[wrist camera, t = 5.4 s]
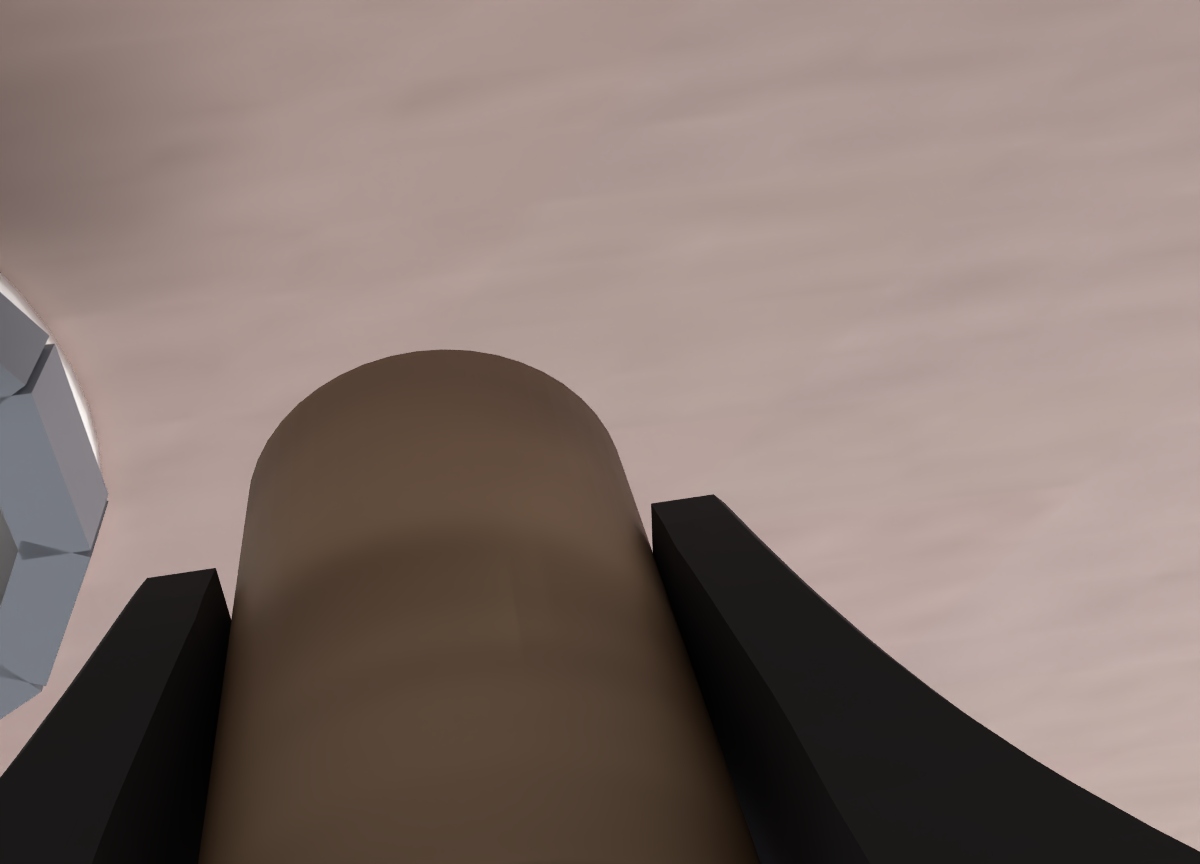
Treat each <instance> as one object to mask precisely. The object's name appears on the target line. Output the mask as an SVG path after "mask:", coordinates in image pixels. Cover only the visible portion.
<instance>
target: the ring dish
mask: <svg viewBox="0 0 1200 864" xmlns="http://www.w3.org/2000/svg"><path fill="white" fill-rule="evenodd" d="M107 497H108V491H107V489H106V486H105V483H104V480H103V477H102V469H101V459H100V449H99V441H98V438H97V434H96V430H95V426H94V423H93V419H92V415H91V411H90V408H89V405H88V402H87V400H86V398H85V395H84V393H83V391H82V388H81V386H80V384H79V381H78V379H77V377H76V374H75V372H74V370H73V368H72V366H71V364H70V363H69V361H68V359H67V358H66V356H65V354H64V353H63V351H62V349H61V348H60V346H59V344H58V343H57V341H56V339H55V338H54V336H53V334H52V333H51V331H50V330H49V328H48V327H47V326H46V324H45V323H44V322H43V320H42V319H41V318H40V317H39V315H38V314H37V313H36V312H35V310H34V309H33V308H32V307H31V305H30V304H29V303H28V302H27V300H26V299H25V298H24V297H23V295H22V294H21V293H20V291H19V290H18V289H17V288H16V287H15V286H14V285H13V284H12V283H11V282H10V281H9V280H8V279H7V278H6V277H5V276H4V275H3V274H2V273H1V272H0V719H2V718H3V717H5V716H6V715H7V714H9V713H10V712H12V711H13V710H15V709H16V708H18V707H19V706H21V705H22V704H24V703H25V702H27V701H28V700H30V699H31V698H33V697H34V696H36V695H37V694H38V693H40V692H41V691H42V688H43V686H46V684H47V682H48V679H49V676H50V673H51V670H52V667H53V664H54V661H55V659H56V656H57V653H58V650H59V647H60V644H61V641H62V639H63V636H64V633H65V630H66V627H67V624H68V621H69V619H70V616H71V613H72V610H73V607H74V604H75V601H76V598H77V596H78V593H79V590H80V587H81V584H82V581H83V578H84V576H85V573H86V570H87V567H88V564H89V561H90V558H91V555H92V552H93V549H94V546H95V542H96V539H97V536H98V533H99V530H100V526H101V523H102V520H103V517H104V514H105V510H106V507H107V504H108V501H107Z"/></svg>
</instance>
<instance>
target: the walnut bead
mask: <svg viewBox="0 0 1200 864" xmlns="http://www.w3.org/2000/svg"><path fill="white" fill-rule="evenodd" d="M198 864H761V862H760V860H759V857H758V854H757V851H756V848H755V845H754V842H753V839H752V837H751V834H750V831H749V828H748V825H747V822H746V819H745V817H744V814H743V811H742V808H741V805H740V802H739V799H738V796H737V794H736V791H735V788H734V785H733V782H732V779H731V776H730V773H729V771H728V768H727V765H726V762H725V759H724V756H723V753H722V750H721V748H720V745H719V742H718V739H717V736H716V733H715V730H714V728H713V725H712V722H711V719H710V716H709V713H708V710H707V707H706V705H705V702H704V699H703V696H702V693H701V690H700V687H699V684H698V682H697V679H696V676H695V673H694V670H693V667H692V664H691V662H690V659H689V656H688V653H687V650H686V647H685V644H684V641H683V639H682V636H681V633H680V630H679V627H678V624H677V621H676V618H675V616H674V613H673V610H672V607H671V604H670V601H669V598H668V596H667V593H666V590H665V587H664V584H663V581H662V578H661V575H660V573H659V570H658V567H657V564H656V561H655V558H654V555H653V552H652V550H651V547H650V544H649V541H648V538H647V535H646V532H645V529H644V527H643V524H642V521H641V518H640V515H639V512H638V509H637V507H636V504H635V501H634V498H633V495H632V492H631V489H630V486H629V484H628V481H627V478H626V475H625V472H624V469H623V466H622V463H621V461H620V458H619V455H618V452H617V449H616V447H615V445H614V443H613V441H612V439H611V437H610V435H609V433H608V431H607V429H606V428H605V427H604V425H603V424H602V422H601V421H600V419H599V418H598V416H597V415H596V414H595V413H594V411H593V410H592V409H591V408H590V407H589V406H588V405H587V404H586V403H585V402H584V401H583V400H582V399H581V398H580V397H579V396H578V395H576V394H575V393H574V392H573V391H571V390H570V389H569V388H568V387H566V386H565V385H564V384H562V383H561V382H559V381H557V380H556V379H554V378H552V377H551V376H549V375H547V374H546V373H544V372H542V371H540V370H537V369H535V368H533V367H531V366H528V365H526V364H524V363H521V362H518V361H515V360H511V359H508V358H504V357H501V356H498V355H493V354H487V353H481V352H475V351H464V350H430V351H416V352H411V353H406V354H400V355H395V356H390V357H386V358H383V359H380V360H377V361H374V362H370V363H367V364H364V365H362V366H360V367H357V368H355V369H353V370H351V371H348V372H346V373H344V374H342V375H340V376H338V377H336V378H335V379H333V380H331V381H330V382H328V383H326V384H325V385H323V386H321V387H320V388H318V389H317V390H315V391H314V392H313V393H312V394H310V395H309V396H308V397H307V398H305V399H304V400H303V401H302V402H300V403H299V404H298V405H297V406H296V407H295V408H294V409H293V410H292V411H291V412H290V413H289V414H288V415H287V416H286V417H285V418H284V420H283V421H282V422H281V423H280V424H279V426H278V427H277V429H276V430H275V431H274V433H273V434H272V436H271V437H270V438H269V440H268V441H267V443H266V445H265V447H264V449H263V451H262V453H261V455H260V457H259V459H258V461H257V464H256V467H255V470H254V473H253V476H252V479H251V484H250V490H249V497H248V504H247V511H246V518H245V526H244V533H243V540H242V547H241V555H240V562H239V569H238V576H237V584H236V591H235V598H234V605H233V613H232V620H231V627H230V635H229V642H228V649H227V656H226V664H225V671H224V678H223V685H222V693H221V700H220V707H219V714H218V722H217V729H216V736H215V743H214V751H213V758H212V765H211V772H210V780H209V787H208V794H207V802H206V809H205V816H204V823H203V831H202V838H201V845H200V852H199V860H198Z"/></svg>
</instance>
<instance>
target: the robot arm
mask: <svg viewBox="0 0 1200 864" xmlns="http://www.w3.org/2000/svg"><path fill="white" fill-rule="evenodd" d="M651 512H652V543H653V555H654V558H655V561H656V564H657V567H658V570H659V573H660V575H661V578H662V581H663V584H664V587H665V590H666V593H667V596H668V598H669V601H670V604H671V607H672V610H673V613H674V616H675V618H676V621H677V624H678V627H679V630H680V633H681V636H682V639H683V641H684V644H685V647H686V650H687V653H688V656H689V659H690V662H691V664H692V667H693V670H694V673H695V676H696V679H697V682H698V684H699V687H700V690H701V693H702V696H703V699H704V702H705V705H706V707H707V710H708V713H709V716H710V719H711V722H712V725H713V728H714V730H715V733H716V736H717V739H718V742H719V745H720V748H721V750H722V753H723V756H724V759H725V762H726V765H727V768H728V771H729V773H730V776H731V779H732V782H733V785H734V788H735V791H736V794H737V796H738V799H739V802H740V805H741V808H742V811H743V814H744V817H745V819H746V822H747V825H748V828H749V831H750V834H751V837H752V839H753V842H754V845H755V848H756V851H757V854H758V857H759V860H760V862H761V864H1200V852H1199V851H1197V850H1195V849H1194V848H1192V847H1190V846H1188V845H1186V844H1184V843H1182V842H1180V841H1178V840H1176V839H1174V838H1172V837H1170V836H1168V835H1166V834H1164V833H1162V832H1160V831H1159V830H1157V829H1155V828H1153V827H1151V826H1149V825H1147V824H1146V823H1144V822H1142V821H1140V820H1138V819H1137V818H1135V817H1133V816H1131V815H1130V814H1128V813H1126V812H1124V811H1122V810H1121V809H1119V808H1117V807H1115V806H1114V805H1112V804H1110V803H1108V802H1106V801H1105V800H1103V799H1101V798H1099V797H1097V796H1096V795H1094V794H1092V793H1090V792H1089V791H1087V790H1085V789H1083V788H1081V787H1080V786H1078V785H1076V784H1074V783H1073V782H1071V781H1069V780H1068V779H1066V778H1064V777H1063V776H1061V775H1059V774H1058V773H1056V772H1054V771H1053V770H1051V769H1049V768H1048V767H1046V766H1044V765H1043V764H1041V763H1040V762H1038V761H1036V760H1035V759H1033V758H1031V757H1030V756H1028V755H1027V754H1025V753H1024V752H1022V751H1021V750H1019V749H1018V748H1016V747H1015V746H1013V745H1012V744H1010V743H1009V742H1007V741H1006V740H1004V739H1003V738H1001V737H1000V736H998V735H997V734H995V733H994V732H992V731H991V730H989V729H987V728H986V727H984V726H983V725H981V724H980V723H978V722H977V721H975V720H974V719H972V718H971V717H970V716H968V715H967V714H965V713H964V712H963V711H961V710H960V709H958V708H957V707H956V706H954V705H953V704H952V703H950V702H949V701H948V700H946V699H945V698H943V697H942V696H941V695H939V694H938V693H937V692H935V691H934V690H933V689H931V688H930V687H929V686H927V685H926V684H925V683H924V682H922V681H921V680H920V679H919V678H917V677H916V676H915V675H913V674H912V673H911V672H910V671H908V670H907V669H906V668H904V667H903V666H902V665H901V664H899V663H898V662H897V661H895V660H894V659H893V658H892V657H890V656H889V655H888V654H887V653H886V652H884V651H883V650H882V649H881V648H880V647H878V646H877V645H876V644H875V643H873V642H872V641H871V640H870V639H869V638H867V637H866V636H865V635H864V634H863V633H862V632H860V631H859V630H858V629H857V628H856V627H855V626H854V625H852V624H851V623H850V622H849V621H848V620H847V619H846V618H844V617H843V616H842V615H841V614H840V613H839V612H838V611H836V610H835V609H834V608H833V607H832V606H831V605H830V604H828V603H827V602H826V601H825V600H824V599H823V598H822V597H821V596H819V595H818V594H817V593H816V592H815V591H814V590H813V589H812V588H811V587H810V586H808V585H807V584H806V583H805V582H804V581H803V580H802V579H801V578H800V577H799V576H798V575H797V574H796V573H795V572H793V571H792V570H791V569H790V568H789V567H788V566H787V565H786V564H785V563H784V562H783V561H782V560H781V559H780V558H779V557H778V556H777V555H776V554H775V553H774V552H773V551H772V550H771V549H770V548H769V547H768V546H767V545H766V544H765V543H763V542H762V541H761V540H760V539H759V538H758V537H757V536H756V535H755V534H754V533H753V532H752V531H751V530H750V529H749V528H748V527H747V526H746V524H745V523H744V522H743V521H742V520H741V519H740V518H739V517H738V516H737V515H736V514H735V513H734V512H733V511H732V510H731V509H730V508H729V507H728V506H727V505H726V504H725V503H724V502H722V501H721V500H720V499H719V498H717V497H716V496H715V495H714V494H713V495H707V496H700V497H693V498H686V499H680V500H673V501H666V502H659V503H653V504H651ZM230 627H231V618H230V614H229V611H228V608H227V604H226V601H225V598H224V594H223V591H222V588H221V584H220V581H219V578H218V574H217V571H216V568H213V569H206V570H199V571H192V572H186V573H179V574H172V575H165V576H158V577H152V578H147V579H146V580H145V581H144V583H143V584H142V585H141V586H140V587H139V589H138V590H137V591H136V593H135V594H134V595H133V597H132V598H131V600H130V601H129V602H128V604H127V605H126V606H125V608H124V609H123V611H122V612H121V614H120V615H119V616H118V618H117V619H116V621H115V622H114V624H113V625H112V626H111V628H110V629H109V631H108V632H107V634H106V635H105V637H104V638H103V639H102V641H101V642H100V644H99V645H98V646H97V648H96V649H95V651H94V652H93V654H92V655H91V656H90V658H89V659H88V661H87V662H86V663H85V665H84V666H83V668H82V669H81V670H80V672H79V673H78V675H77V676H76V677H75V679H74V680H73V682H72V683H71V684H70V686H69V687H68V689H67V690H66V691H65V693H64V694H63V696H62V697H61V698H60V700H59V701H58V702H57V704H56V705H55V706H54V708H53V709H52V710H51V712H50V713H49V714H48V716H47V717H46V718H45V720H44V721H43V722H42V724H41V725H40V726H39V728H38V729H37V730H36V732H35V733H34V734H33V735H32V737H31V738H30V739H29V741H28V742H27V743H26V745H25V746H24V747H23V749H22V750H21V751H20V753H19V754H18V755H17V757H16V758H15V759H14V761H13V762H12V763H11V764H10V766H9V767H8V768H7V770H6V771H5V772H4V773H3V775H2V776H1V777H0V864H198V860H199V852H200V845H201V838H202V831H203V823H204V816H205V809H206V802H207V794H208V787H209V780H210V772H211V765H212V758H213V751H214V743H215V736H216V729H217V722H218V714H219V707H220V700H221V693H222V685H223V678H224V671H225V664H226V656H227V649H228V642H229V635H230Z"/></svg>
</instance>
